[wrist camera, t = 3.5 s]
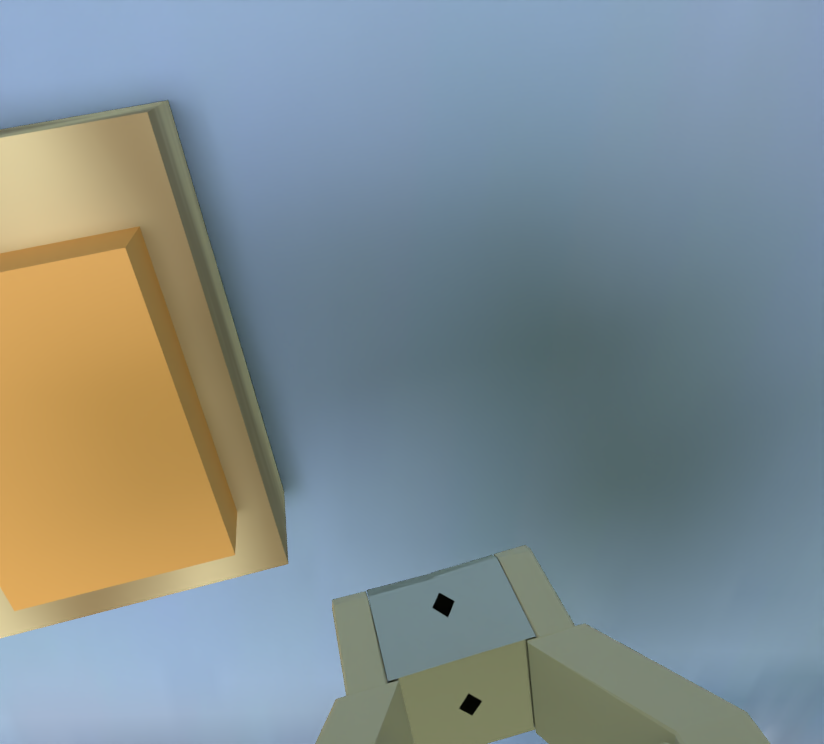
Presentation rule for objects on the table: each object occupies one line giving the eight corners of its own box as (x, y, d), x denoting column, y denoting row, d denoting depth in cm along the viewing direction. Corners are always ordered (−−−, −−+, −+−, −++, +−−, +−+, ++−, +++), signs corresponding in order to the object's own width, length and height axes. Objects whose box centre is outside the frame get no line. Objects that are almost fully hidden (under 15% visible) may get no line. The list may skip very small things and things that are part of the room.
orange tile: (139, 226, 16) (125, 247, 15) (237, 511, 21) (235, 555, 19) (-119, 276, 16) (-167, 305, 14) (35, 561, 20) (14, 611, 18)
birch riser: (168, 100, 19) (147, 112, 15) (284, 492, 25) (288, 563, 22) (-293, 180, 18) (-431, 213, 14) (-47, 573, 24) (-100, 663, 20)
